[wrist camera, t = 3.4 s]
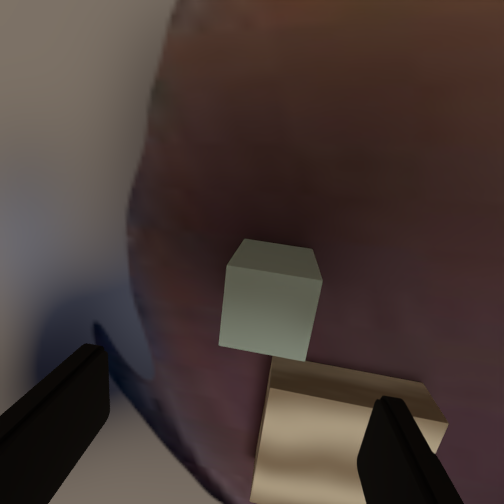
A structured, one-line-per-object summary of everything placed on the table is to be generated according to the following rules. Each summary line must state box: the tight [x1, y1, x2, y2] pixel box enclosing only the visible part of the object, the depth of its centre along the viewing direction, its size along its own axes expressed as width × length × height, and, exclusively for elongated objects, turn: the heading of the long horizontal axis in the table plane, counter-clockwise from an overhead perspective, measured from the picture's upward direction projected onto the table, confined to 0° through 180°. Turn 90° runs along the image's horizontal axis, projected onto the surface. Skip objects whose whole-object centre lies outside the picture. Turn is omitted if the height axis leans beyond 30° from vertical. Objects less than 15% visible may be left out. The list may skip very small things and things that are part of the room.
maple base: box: [250, 356, 449, 504], centre depth 22 cm, size 12×12×4 cm
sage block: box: [219, 239, 323, 362], centre depth 17 cm, size 5×5×6 cm
